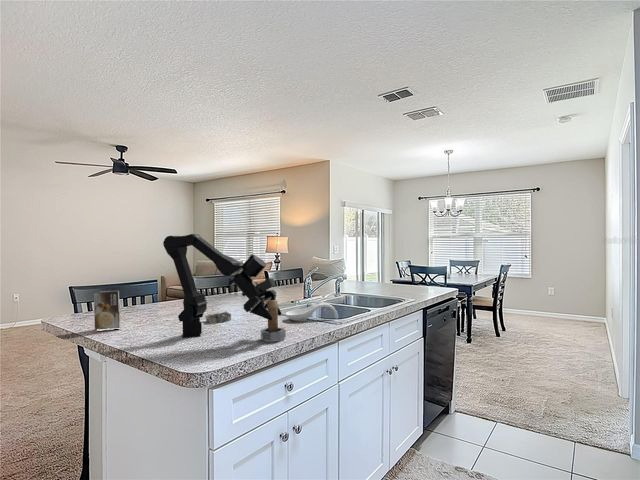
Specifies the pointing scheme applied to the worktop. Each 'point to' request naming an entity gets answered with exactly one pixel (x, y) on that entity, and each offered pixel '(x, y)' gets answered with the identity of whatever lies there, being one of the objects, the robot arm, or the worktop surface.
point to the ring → (273, 335)
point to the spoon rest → (308, 312)
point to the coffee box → (106, 309)
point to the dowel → (273, 316)
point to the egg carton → (218, 317)
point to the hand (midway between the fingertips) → (276, 316)
